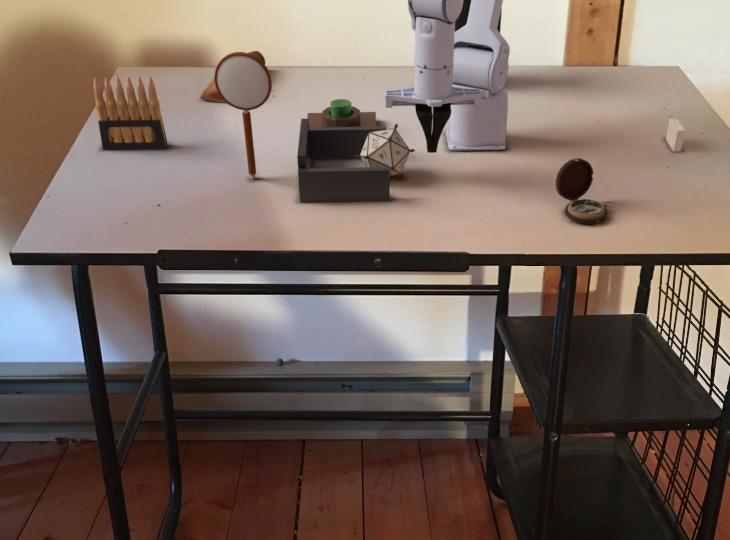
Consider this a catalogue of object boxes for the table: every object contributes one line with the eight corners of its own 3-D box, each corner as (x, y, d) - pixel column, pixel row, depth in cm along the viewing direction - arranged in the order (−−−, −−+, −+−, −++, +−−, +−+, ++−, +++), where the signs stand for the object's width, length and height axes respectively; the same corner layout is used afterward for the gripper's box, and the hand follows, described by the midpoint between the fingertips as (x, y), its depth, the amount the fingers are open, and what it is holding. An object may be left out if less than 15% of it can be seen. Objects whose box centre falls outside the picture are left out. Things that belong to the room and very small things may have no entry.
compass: (579, 229, 135) (586, 182, 131) (550, 205, 141) (556, 160, 136) (625, 218, 138) (633, 172, 133) (595, 195, 143) (602, 150, 139)
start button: (351, 110, 162) (351, 98, 161) (351, 118, 159) (351, 106, 158) (331, 110, 162) (330, 99, 161) (330, 118, 159) (330, 107, 158)
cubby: (386, 154, 155) (386, 114, 151) (389, 200, 142) (389, 157, 138) (304, 156, 155) (301, 115, 151) (299, 202, 142) (296, 159, 138)
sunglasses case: (224, 64, 187) (238, 36, 183) (255, 84, 189) (269, 56, 185) (197, 98, 173) (211, 69, 169) (231, 119, 175) (246, 90, 171)
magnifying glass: (225, 180, 148) (209, 53, 136) (228, 175, 150) (212, 49, 137) (278, 183, 147) (267, 55, 135) (280, 178, 149) (270, 51, 136)
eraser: (673, 151, 156) (677, 130, 153) (665, 139, 159) (669, 118, 157) (680, 151, 156) (685, 130, 153) (672, 139, 159) (677, 118, 157)
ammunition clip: (167, 144, 159) (156, 74, 151) (166, 149, 158) (154, 78, 150) (104, 145, 159) (90, 75, 151) (102, 150, 157) (87, 79, 150)
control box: (375, 120, 166) (375, 101, 164) (376, 141, 159) (376, 122, 157) (308, 122, 166) (307, 102, 164) (306, 143, 159) (305, 123, 157)
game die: (393, 202, 150) (406, 172, 141) (344, 180, 149) (354, 148, 140) (412, 157, 153) (426, 124, 143) (364, 136, 152) (375, 101, 143)
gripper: (385, 73, 134) (386, 161, 143) (486, 71, 135) (480, 160, 143) (384, 56, 140) (384, 142, 148) (480, 55, 140) (475, 141, 149)
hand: (431, 150), depth 146 cm, fingers closed
